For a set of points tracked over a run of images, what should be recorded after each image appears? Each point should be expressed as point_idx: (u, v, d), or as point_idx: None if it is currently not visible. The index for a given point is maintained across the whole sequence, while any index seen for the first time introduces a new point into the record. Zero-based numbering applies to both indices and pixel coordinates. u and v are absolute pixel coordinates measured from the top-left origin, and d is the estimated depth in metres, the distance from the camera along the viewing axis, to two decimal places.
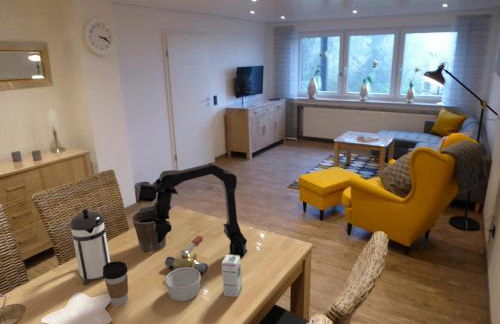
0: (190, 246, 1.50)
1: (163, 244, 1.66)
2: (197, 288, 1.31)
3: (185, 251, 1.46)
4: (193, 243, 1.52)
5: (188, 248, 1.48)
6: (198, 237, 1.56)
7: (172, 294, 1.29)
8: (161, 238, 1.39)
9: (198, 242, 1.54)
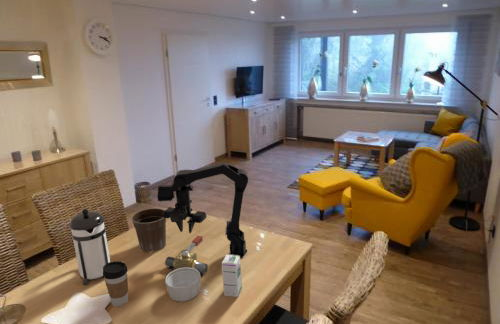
0: (190, 246, 1.50)
1: (163, 244, 1.66)
2: (197, 288, 1.31)
3: (185, 251, 1.46)
4: (193, 243, 1.52)
5: (188, 248, 1.48)
6: (198, 237, 1.56)
7: (172, 294, 1.29)
8: (192, 227, 1.54)
9: (198, 242, 1.54)
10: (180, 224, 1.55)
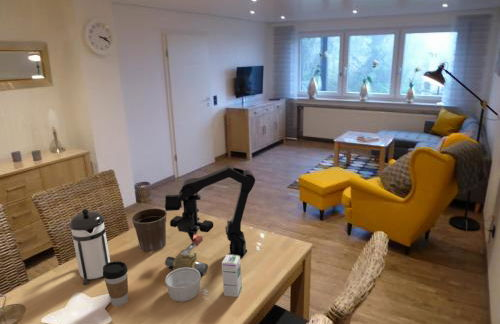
0: (190, 246, 1.50)
1: (163, 244, 1.66)
2: (197, 288, 1.31)
3: (185, 251, 1.46)
4: (193, 243, 1.52)
5: (188, 248, 1.48)
6: (198, 237, 1.56)
7: (172, 294, 1.29)
8: (195, 235, 1.55)
9: (198, 242, 1.54)
10: None
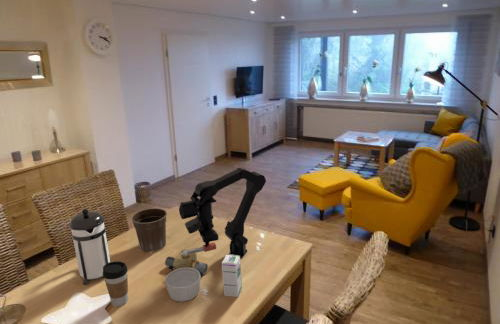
0: (195, 249, 1.47)
1: (163, 244, 1.66)
2: (197, 288, 1.31)
3: (185, 251, 1.46)
4: (201, 247, 1.48)
5: (191, 250, 1.47)
6: (212, 244, 1.50)
7: (172, 294, 1.29)
8: None
9: (207, 249, 1.49)
10: None
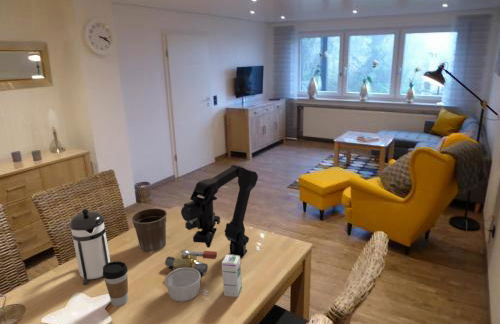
0: (195, 252, 1.45)
1: (163, 244, 1.66)
2: (197, 288, 1.31)
3: (184, 251, 1.46)
4: (201, 253, 1.45)
5: (190, 252, 1.45)
6: (212, 252, 1.44)
7: (172, 294, 1.29)
8: (208, 243, 1.43)
9: (206, 256, 1.43)
10: None
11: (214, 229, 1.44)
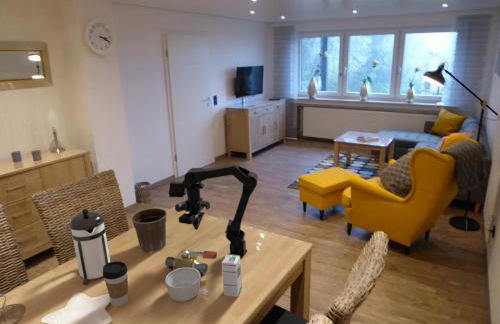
0: (195, 252, 1.45)
1: (163, 244, 1.66)
2: (197, 288, 1.31)
3: (184, 251, 1.46)
4: (201, 253, 1.45)
5: (190, 252, 1.45)
6: (212, 252, 1.44)
7: (172, 294, 1.29)
8: (196, 225, 1.56)
9: (206, 256, 1.43)
10: None
11: (202, 213, 1.57)
